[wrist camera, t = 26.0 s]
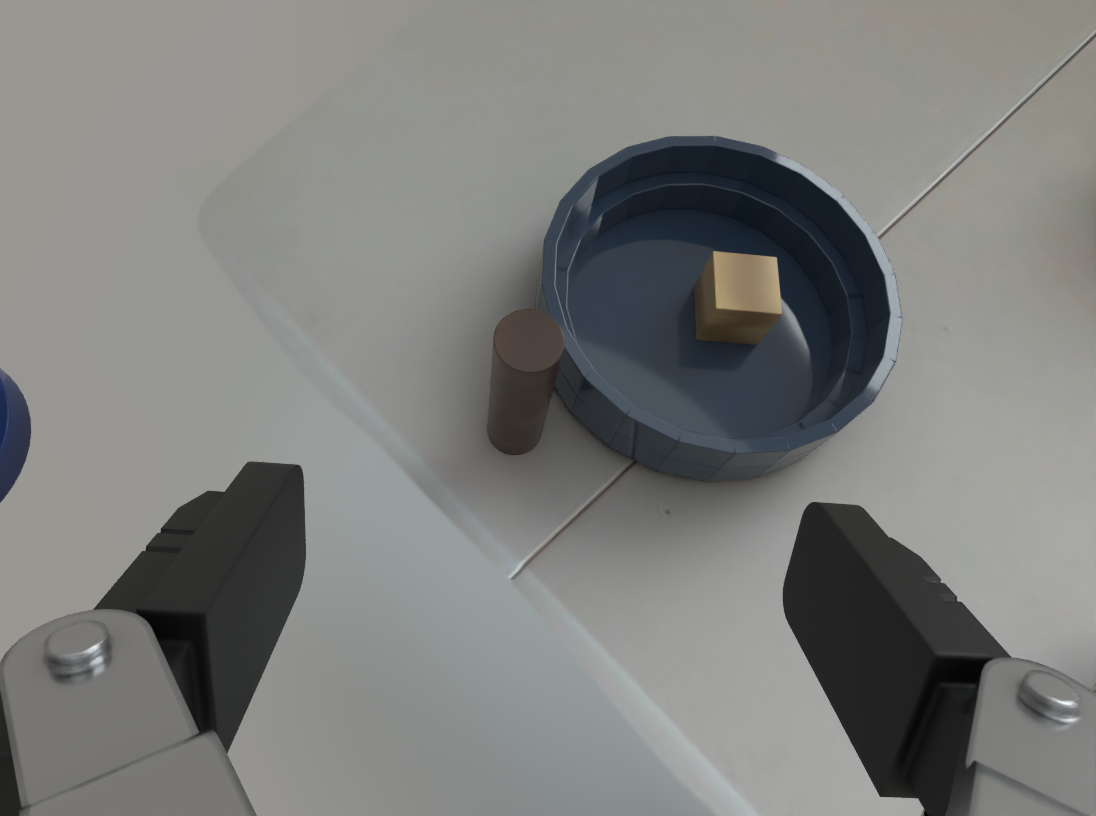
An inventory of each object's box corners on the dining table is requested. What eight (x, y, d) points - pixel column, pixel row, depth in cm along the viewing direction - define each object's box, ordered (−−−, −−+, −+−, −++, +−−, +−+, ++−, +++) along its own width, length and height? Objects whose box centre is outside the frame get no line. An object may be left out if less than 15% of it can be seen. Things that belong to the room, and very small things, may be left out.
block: (695, 340, 40) (715, 308, 37) (693, 285, 41) (712, 250, 38) (757, 345, 40) (782, 314, 37) (753, 291, 41) (777, 256, 38)
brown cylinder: (485, 453, 37) (490, 369, 28) (489, 402, 38) (496, 305, 29) (539, 457, 37) (563, 375, 28) (542, 406, 38) (566, 312, 29)
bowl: (524, 472, 37) (533, 439, 32) (541, 179, 44) (550, 117, 39) (872, 496, 38) (928, 468, 33) (833, 209, 45) (875, 153, 40)
